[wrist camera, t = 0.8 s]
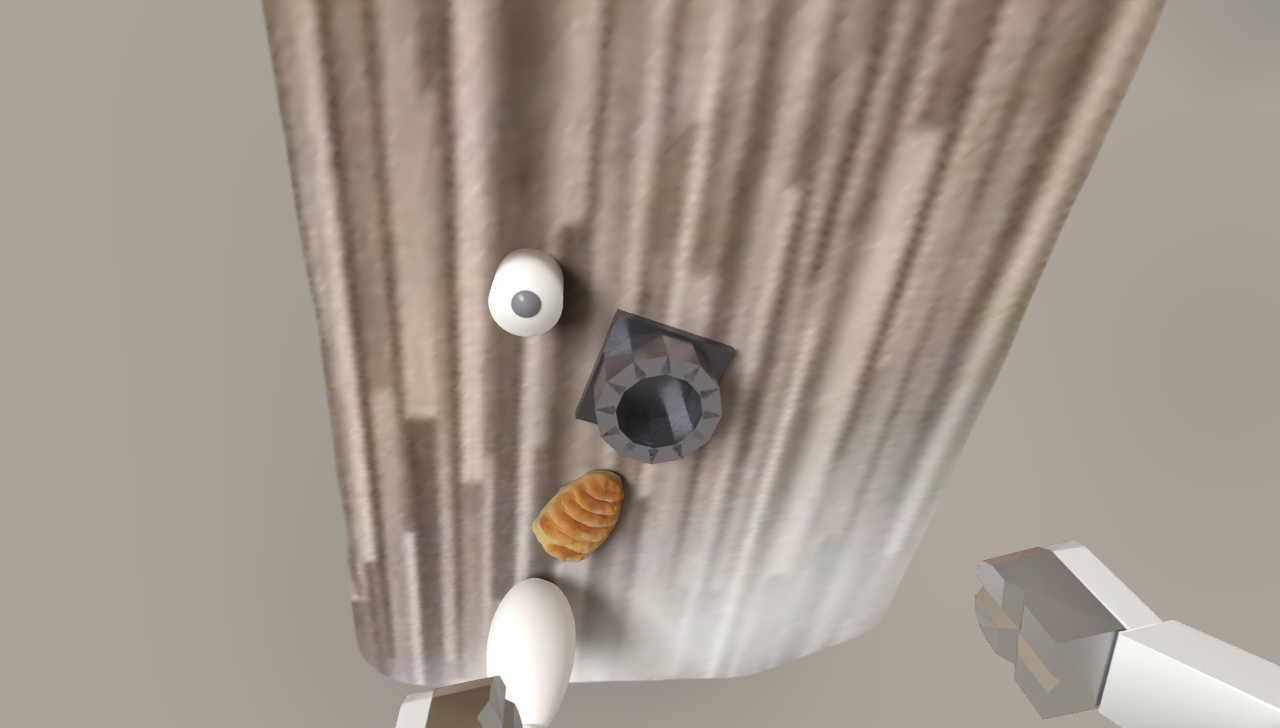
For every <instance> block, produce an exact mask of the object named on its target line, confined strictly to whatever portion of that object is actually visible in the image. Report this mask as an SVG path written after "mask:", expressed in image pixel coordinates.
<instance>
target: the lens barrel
mask: <svg viewBox="0 0 1280 728" xmlns="http://www.w3.org/2000/svg"><path fill="white" fill-rule="evenodd" d="M733 353H734V351H733V349H732V347H731V346H728V345H725V344H722V343H719V342H716V341H713V340H710V339H707V338H704V337H700V336H697V335H694V334H691V333H688V332H685V331H682V330H679V329H676V328H673V327H670V326H667V325H664V324H661V323H658V322H655V321H652V320H649V319H646V318H643V317H640V316H637V315H634V314H630V313H627V312H624V311H621V310H618V309H617V312H616V314H615V316H614V319H613V321H612V324H611V326H610V329H609V331H608V334H607V336H606V338H605V341H604V343H603V346H602V348H601V351H600V353H599V356H598V358H597V360H596V363H595V365H594V368H593V370H592V373H591V375H590V378H589V380H588V382H587V385H586V387H585V390H584V392H583V395H582V397H581V399H580V402H579V404H578V407H577V409H576V419H580V420H584V421H587V422H591V423H595V424H598V426H599V430H600V435H601V437H602V438H603V439H604V440H605V441H606V442H607V443H608V444H609V445H610V446H611V447H612V448H613V449H614V450H615V451H616V452H617V453H618V454H620V455H621V456H622V457H624V458H628V459H631V460H635V461H639V462H643V463H648V464H656V463H661V462H667V461H673V460H678V459H683V458H685V457H686V456H687V455H689V454H690V453H692V452H693V451H695V450H696V449H698V448H699V447H701V446H702V445H704V444H705V443H707V442H708V441H709V439H710V437H711V436H712V434H713V432H714V430H715V428H716V426H717V424H718V423H719V421H720V419H721V417H722V408H721V397H720V387H719V385H718V382H719V380H720V378H721V377H722V375H723V373H724V371H725V369H726V367H727V365H728V363H729V361H730V359H731V357H732V355H733Z"/></svg>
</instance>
